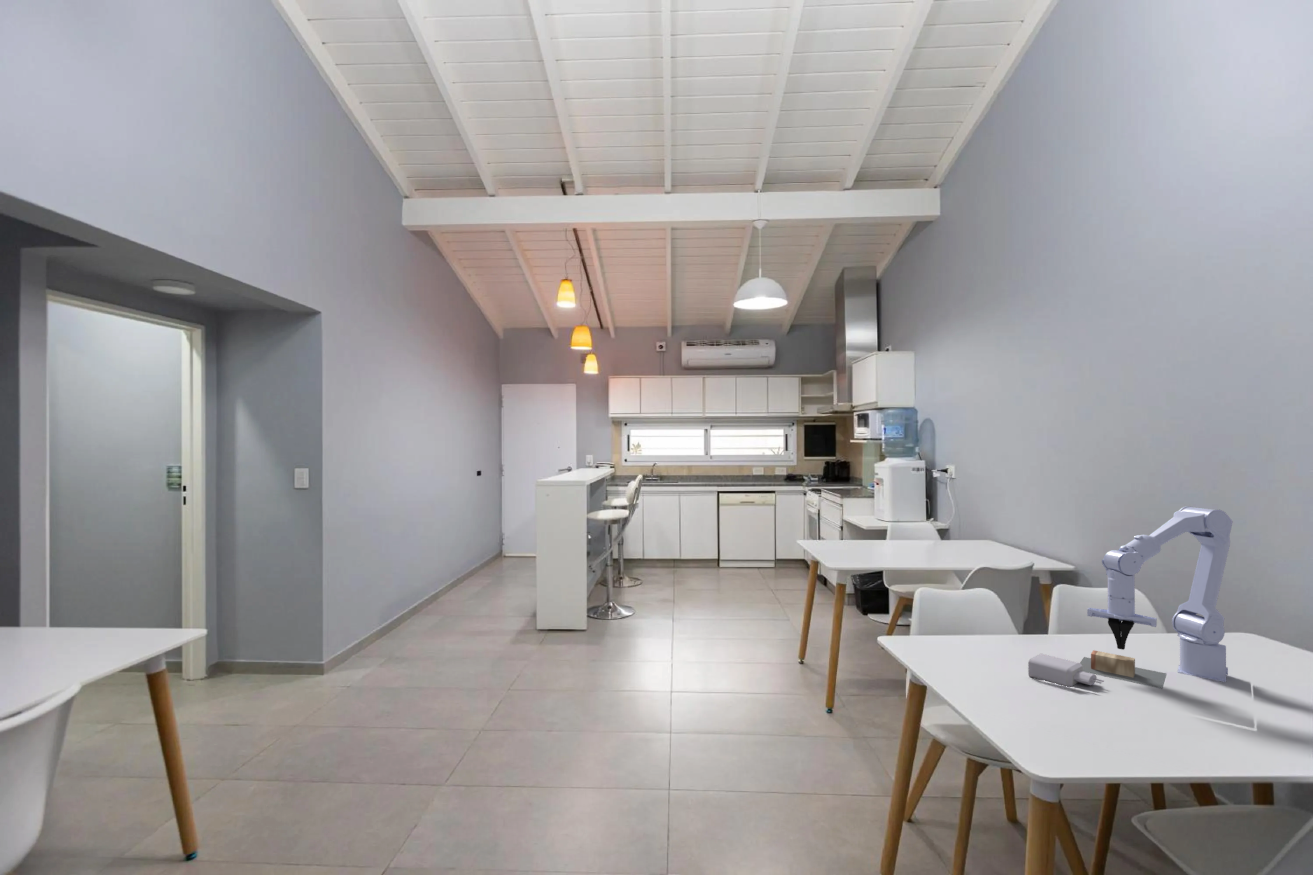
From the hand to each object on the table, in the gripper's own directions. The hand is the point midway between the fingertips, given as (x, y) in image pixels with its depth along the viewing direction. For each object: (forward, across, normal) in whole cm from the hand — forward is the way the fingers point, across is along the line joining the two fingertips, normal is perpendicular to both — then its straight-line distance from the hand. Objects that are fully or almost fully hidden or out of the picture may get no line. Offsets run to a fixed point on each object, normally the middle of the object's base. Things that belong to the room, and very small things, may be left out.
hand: (1121, 648), depth 162 cm
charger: (+7, -9, -16) cm, 20 cm away
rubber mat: (+7, 0, +1) cm, 7 cm away
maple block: (+4, +3, 0) cm, 5 cm away
